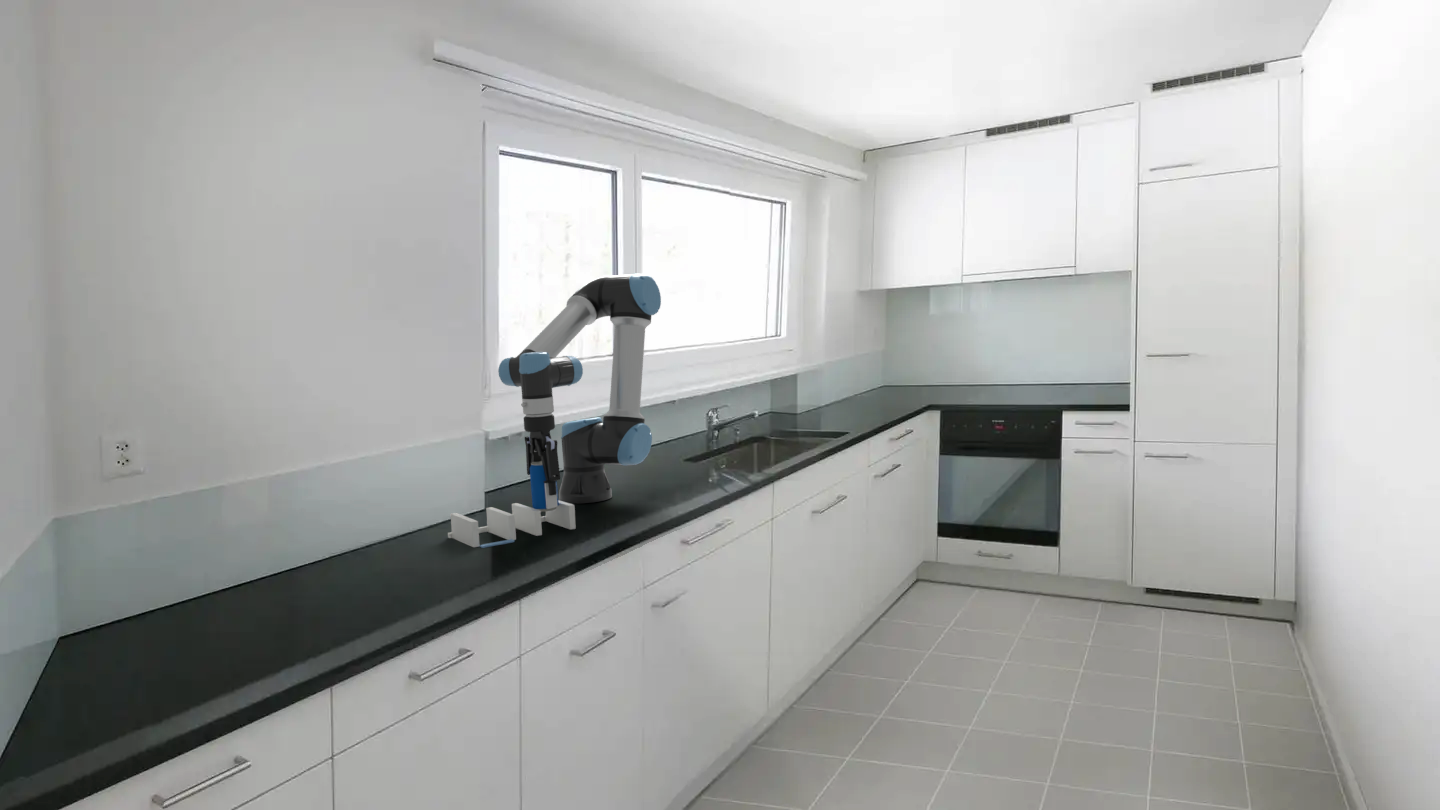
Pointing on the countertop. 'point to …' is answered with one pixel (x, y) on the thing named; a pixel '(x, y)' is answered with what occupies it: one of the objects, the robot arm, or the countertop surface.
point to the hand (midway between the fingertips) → (545, 505)
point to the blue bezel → (496, 543)
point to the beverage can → (539, 487)
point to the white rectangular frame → (510, 522)
